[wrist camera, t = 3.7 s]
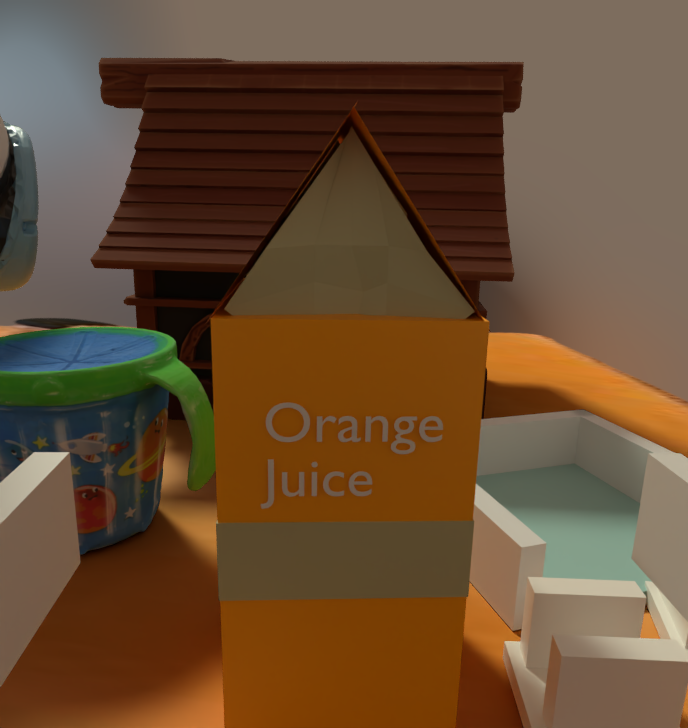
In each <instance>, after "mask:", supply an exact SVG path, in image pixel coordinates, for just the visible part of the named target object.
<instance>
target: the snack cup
mask: <svg viewBox="0 0 688 728" xmlns="http://www.w3.org/2000/svg"><path fill="white" fill-rule="evenodd" d="M169 392H171V393H172V394H174V395H175V396H177V397H178V399H179V401H180V403H181V406H182V410H183V413H184V415H185V418H186V421H187V424H188V427H189V431H190V433H191V438H192V442H193V446H192V451H191V457H190V462H189V469H188V480H187V485H188V488H189V489H190V490H192V491H196V490H199V489H201V488H202V486H203V485H205V484H206V483H207V482H208V481H209V480H210V478H211V477H212V475H213V474H214V472H215V470H216V461H215V432H214V414H213V410H212V408H211V405H210V402H209V400H208V397H207V395H206V393H205V390H204V389H203V386H202V384H201V383H200V381H199V380H198V378H197V377H196V375H195V374H194V373H193V372H192V371H191V370H190V368H188V367H187V366H186V365H184V364H183V363H182V362H181V361H179V360H178V359H177V345H176V341H175V340H174V339H173V338H172V337H170V336H169V335H167V334H164V333H161V332H157V331H153V330H147V329H139V328H124V327H79V328H64V329H52V330H42V331H34V332H27V333H21V334H15V335H9V336H5V337H0V482H2V481H3V480H4V479H5V478H6V477H7V476H8V475H9V474H10V473H12V472H13V471H14V470H15V469H16V468H17V467H18V466H19V465H20V464H22V463H23V462H24V461H25V460H26V459H27V458H28V457H29V456H30V455H32V454H33V453H34V452H70V461H71V471H72V481H73V491H74V501H75V511H76V521H77V532H78V542H79V552H80V555H82V554H85V553H86V552H87V551H89V550H94V549H99V548H102V547H105V546H108V545H112V544H115V543H117V542H119V541H121V540H124V539H126V538H128V537H130V536H132V535H134V534H136V533H137V532H144V531H145V530H146V529H147V527H148V525H149V524H150V523H151V522H152V518H153V517H154V515H155V513H156V511H157V508H158V506H159V502H160V491H161V482H162V477H163V461H164V454H165V444H166V431H167V418H168V402H169Z"/></svg>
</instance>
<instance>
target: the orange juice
mask: <svg viewBox="0 0 688 728" xmlns="http://www.w3.org/2000/svg"><path fill="white" fill-rule="evenodd" d="M357 102H358V101H357ZM356 104H357V103H356ZM356 104H355V106H356ZM355 106H353V108H352V110H351V112H350V113H349V114H348V116H347V117H346V119H345V120H344V122H343V123H342V125H341V126H340V128H339V129H338V131H337V132H336V133H335V135H334V136H333V138H332V139H331V141H330V142H329V144H328V145H327V147H326V148H325V150H324V151H323V153H322V154H321V155H320V157H319V158H318V160H317V161H316V163H315V164H314V166H313V167H312V169H311V170H310V172H309V173H308V175H307V176H306V177H305V179H304V180H303V182H302V183H301V185H300V186H299V188H298V189H297V191H296V192H295V194H294V195H293V196H292V198H291V199H290V201H289V202H288V204H287V205H286V207H285V208H284V210H283V211H282V213H281V214H280V216H279V217H278V218H277V220H276V221H275V223H274V224H273V226H272V227H271V229H270V230H269V232H268V233H267V235H266V236H265V237H264V239H263V240H262V242H261V243H260V245H259V246H258V248H257V249H256V251H255V252H254V254H253V255H252V257H251V258H250V259H249V261H248V262H247V264H246V265H245V267H244V268H243V270H242V271H241V273H240V274H239V276H238V277H237V279H236V280H235V281H234V283H233V284H232V286H231V287H230V289H229V290H228V292H227V293H226V295H225V296H224V298H223V299H222V300H221V302H220V303H219V305H218V306H217V308H216V309H215V311H214V312H213V314H214V313H215V312H216V313H215V314H214V315H213V314H212V315H211V317H210V318H211V344H212V374H213V403H214V404H213V411H214V432H215V461H216V491H217V522H216V535H217V563H218V592H219V601H220V608H221V637H222V666H223V695H224V725H225V728H456V716H457V704H458V692H459V680H460V668H461V656H462V644H463V632H464V620H465V608H466V597H468V592H469V580H470V568H471V556H472V544H473V532H474V520H473V513H474V501H475V489H476V477H477V465H478V453H479V441H480V429H481V417H482V405H483V393H484V381H485V369H486V357H487V345H488V333H489V331H490V330H489V321H488V320H486V319H485V318H483V317H482V316H481V315H480V313H479V312H478V310H477V308H476V307H475V305H474V303H473V302H472V300H471V298H470V297H469V295H468V293H467V292H466V290H465V289H464V287H463V285H462V284H461V282H460V280H459V279H458V277H457V275H456V274H455V272H454V270H453V269H452V267H451V265H450V264H449V262H448V261H447V259H446V257H445V256H444V254H443V252H442V251H441V249H440V247H439V246H438V244H437V242H436V241H435V239H434V238H433V236H432V234H431V233H430V231H429V229H428V228H427V226H426V224H425V223H424V221H423V219H422V218H421V216H420V214H419V213H418V211H417V210H416V208H415V206H414V205H413V203H412V201H411V200H410V198H409V196H408V195H407V193H406V191H405V190H404V188H403V187H402V185H401V183H400V182H399V180H398V178H397V177H396V175H395V173H394V172H393V170H392V168H391V167H390V165H389V163H388V162H387V160H386V159H385V157H384V155H383V154H382V152H381V150H380V149H379V147H378V145H377V144H376V142H375V140H374V139H373V137H372V136H371V134H370V132H369V131H368V129H367V127H366V126H365V124H364V122H363V121H362V119H361V117H360V116H359V114H358V112H357V111H356V109H355ZM337 140H338V141H339V142H338V141H337ZM328 153H329V154H328ZM326 156H327V157H326ZM324 159H325V160H324ZM322 162H323V163H322ZM320 165H321V166H320ZM318 168H319V169H318ZM317 169H318V170H317ZM316 171H317V172H316ZM315 172H316V173H315ZM314 174H315V175H314ZM313 175H314V176H313ZM311 178H312V179H311ZM309 181H310V182H309ZM307 184H308V185H307ZM305 187H306V188H305ZM304 188H305V189H304ZM302 191H303V192H302ZM300 194H301V195H300ZM298 197H299V198H298ZM296 200H297V201H296ZM291 207H292V208H291ZM245 275H246V278H244V276H245ZM243 278H244V279H243ZM242 279H243V280H242ZM241 280H242V281H241ZM239 283H240V284H239ZM238 284H239V285H238ZM234 289H235V290H234ZM233 290H234V291H233ZM230 294H231V295H230ZM229 295H230V296H229ZM228 296H229V297H228ZM225 300H226V301H225ZM224 301H225V302H224ZM223 302H224V303H223ZM220 306H221V307H220ZM219 307H220V308H219ZM218 308H219V309H218ZM210 318H209V319H210ZM207 322H208V321H207ZM207 322H206V323H207Z"/></svg>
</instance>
